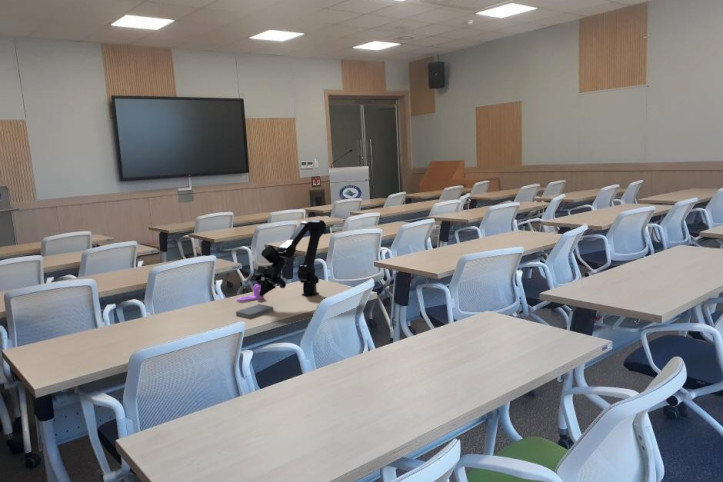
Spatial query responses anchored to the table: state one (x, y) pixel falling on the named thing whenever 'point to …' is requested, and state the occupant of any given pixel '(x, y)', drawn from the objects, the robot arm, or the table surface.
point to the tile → (254, 311)
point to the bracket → (253, 297)
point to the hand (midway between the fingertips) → (260, 296)
